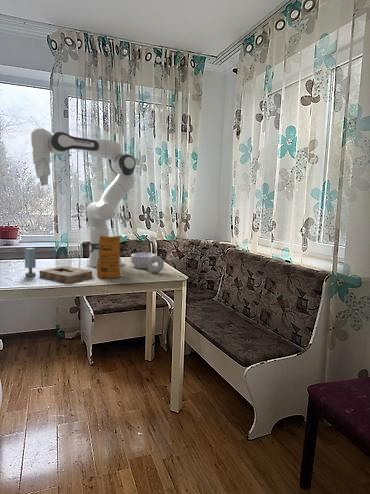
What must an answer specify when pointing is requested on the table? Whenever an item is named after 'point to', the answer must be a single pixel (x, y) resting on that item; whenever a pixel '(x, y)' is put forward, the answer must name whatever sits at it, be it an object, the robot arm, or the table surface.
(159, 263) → the donut
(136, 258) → the paper bowls
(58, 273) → the keyhole board
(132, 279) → the table surface
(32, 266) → the keyhole peg
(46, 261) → the table surface
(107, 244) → the coffee package
